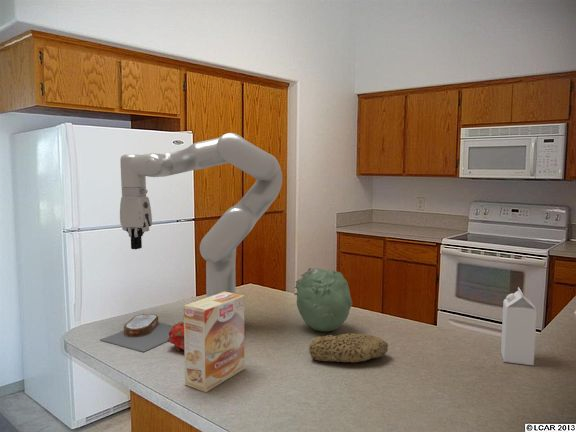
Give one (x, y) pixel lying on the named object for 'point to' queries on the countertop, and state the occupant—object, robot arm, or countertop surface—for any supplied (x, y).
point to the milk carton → (518, 329)
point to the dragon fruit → (177, 335)
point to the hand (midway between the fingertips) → (136, 248)
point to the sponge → (347, 347)
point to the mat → (141, 339)
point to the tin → (141, 325)
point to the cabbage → (323, 299)
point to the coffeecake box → (213, 340)
